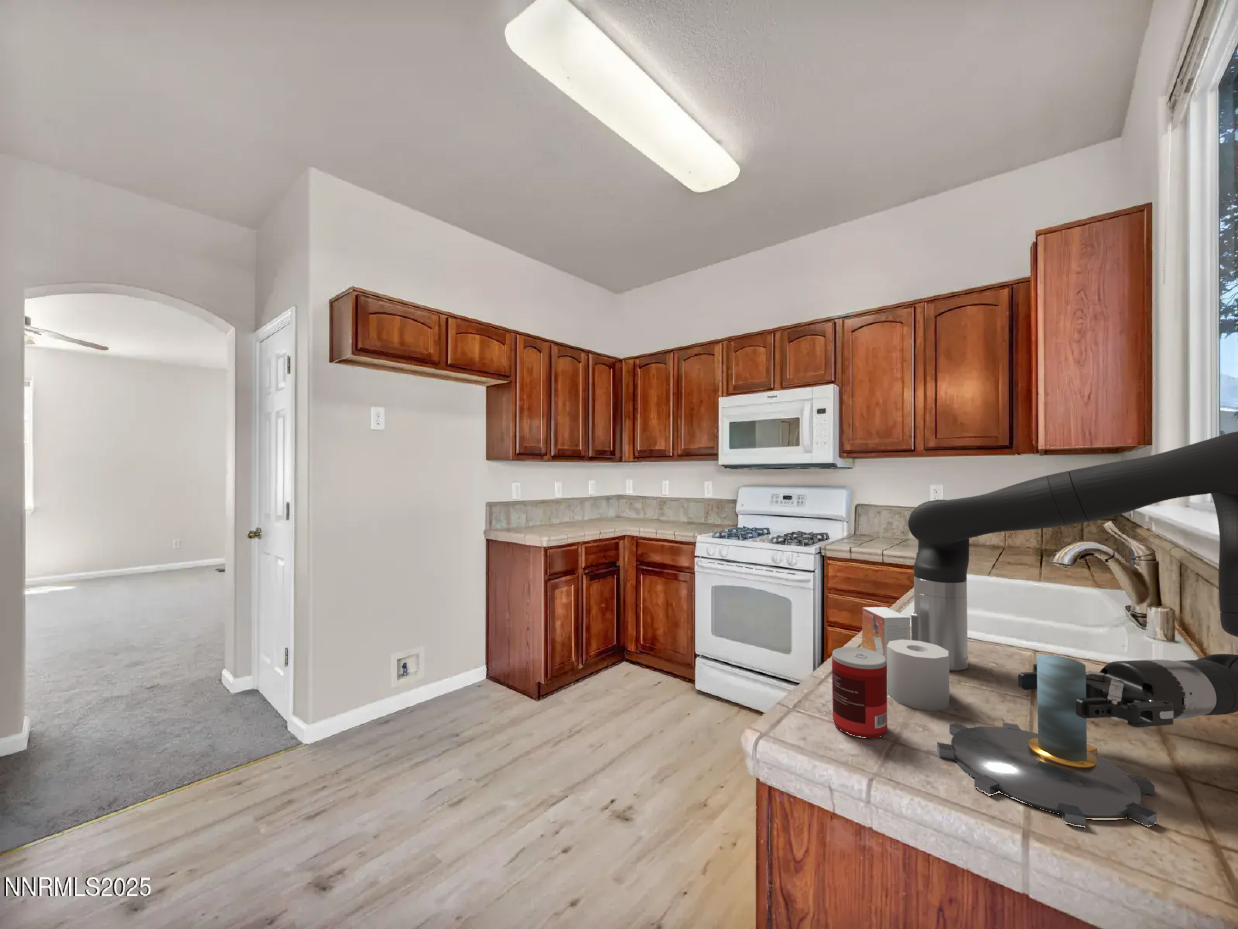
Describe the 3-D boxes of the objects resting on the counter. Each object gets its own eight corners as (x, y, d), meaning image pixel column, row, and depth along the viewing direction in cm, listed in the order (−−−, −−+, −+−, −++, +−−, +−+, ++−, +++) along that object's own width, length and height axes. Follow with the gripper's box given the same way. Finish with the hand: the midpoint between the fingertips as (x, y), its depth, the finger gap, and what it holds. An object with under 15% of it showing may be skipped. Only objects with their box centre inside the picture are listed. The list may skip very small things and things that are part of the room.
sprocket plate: (922, 772, 67) (922, 760, 67) (961, 716, 83) (960, 706, 83) (1159, 858, 52) (1159, 843, 52) (1152, 770, 68) (1152, 758, 68)
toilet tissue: (950, 687, 94) (950, 639, 94) (947, 716, 83) (947, 662, 83) (894, 676, 99) (894, 631, 99) (884, 702, 88) (884, 651, 88)
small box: (861, 656, 109) (861, 606, 109) (886, 655, 110) (886, 606, 110) (884, 671, 101) (883, 617, 101) (911, 670, 102) (910, 616, 102)
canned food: (883, 719, 82) (882, 649, 82) (891, 744, 74) (891, 667, 74) (831, 711, 84) (830, 644, 84) (834, 735, 77) (833, 661, 77)
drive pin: (1035, 751, 70) (1034, 661, 70) (1040, 737, 73) (1039, 652, 73) (1085, 766, 66) (1084, 671, 66) (1088, 750, 70) (1086, 661, 70)
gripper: (1102, 644, 78) (1003, 648, 77) (1220, 683, 64) (1101, 688, 62) (1103, 694, 78) (1003, 699, 76) (1221, 744, 64) (1102, 750, 62)
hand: (1047, 694), depth 69 cm, fingers open, 8 cm apart
